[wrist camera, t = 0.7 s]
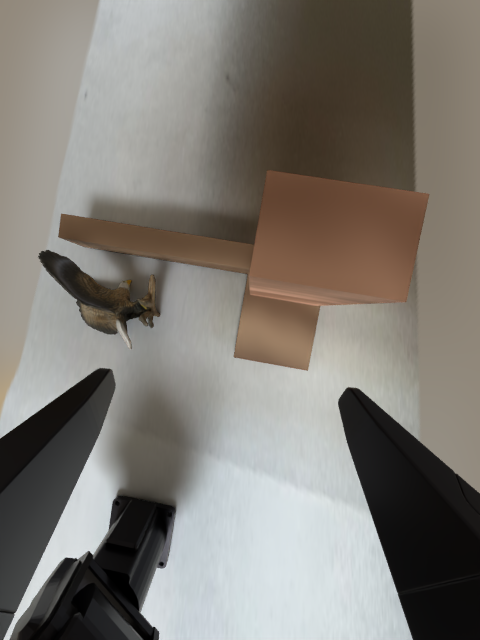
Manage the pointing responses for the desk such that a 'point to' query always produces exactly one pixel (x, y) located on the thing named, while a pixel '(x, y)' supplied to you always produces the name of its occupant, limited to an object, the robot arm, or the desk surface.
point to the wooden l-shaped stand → (292, 256)
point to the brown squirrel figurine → (101, 297)
